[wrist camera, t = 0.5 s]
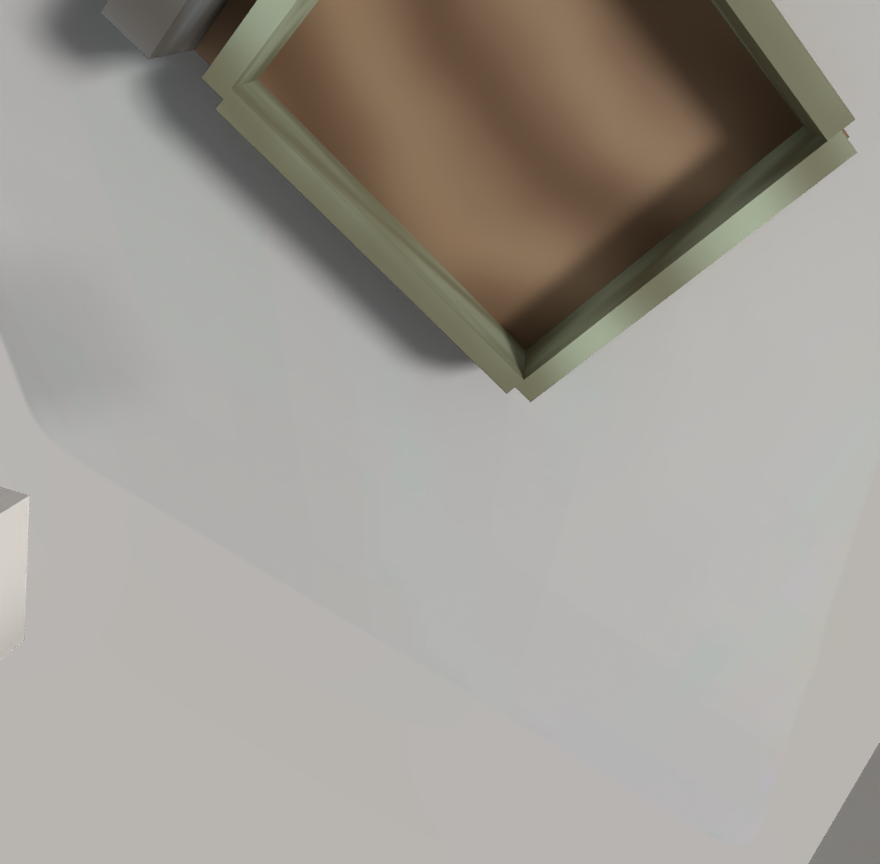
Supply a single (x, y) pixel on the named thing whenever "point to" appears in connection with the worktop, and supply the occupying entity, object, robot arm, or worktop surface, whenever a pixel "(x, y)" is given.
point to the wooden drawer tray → (521, 146)
